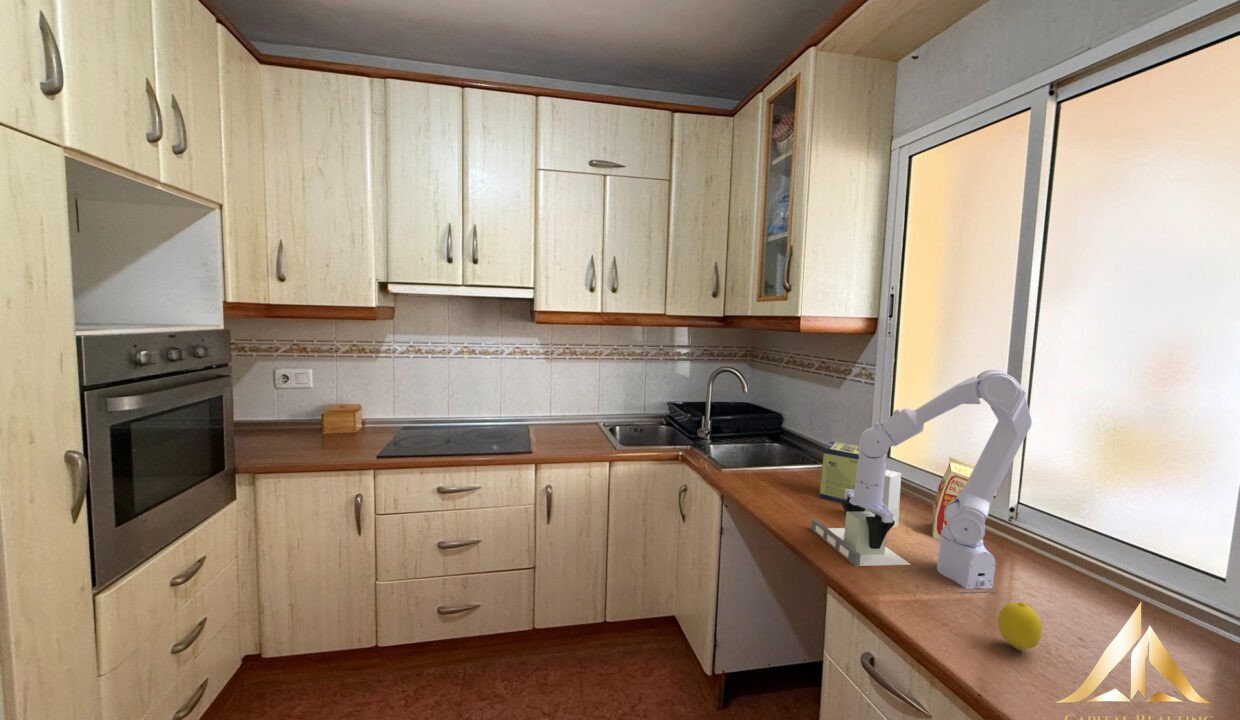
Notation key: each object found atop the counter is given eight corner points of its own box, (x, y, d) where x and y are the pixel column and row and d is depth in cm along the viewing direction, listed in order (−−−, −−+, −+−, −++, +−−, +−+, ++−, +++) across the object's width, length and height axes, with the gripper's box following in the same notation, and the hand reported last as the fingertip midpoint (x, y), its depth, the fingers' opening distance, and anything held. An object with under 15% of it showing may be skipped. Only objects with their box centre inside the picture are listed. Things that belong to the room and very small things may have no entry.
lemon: (1018, 638, 84) (1024, 593, 83) (1047, 661, 79) (1054, 613, 78) (987, 637, 84) (992, 592, 83) (1014, 660, 78) (1020, 612, 78)
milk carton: (933, 537, 123) (942, 459, 121) (929, 524, 131) (938, 451, 129) (977, 547, 119) (987, 466, 117) (971, 533, 127) (980, 457, 125)
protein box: (876, 511, 139) (882, 457, 137) (818, 498, 147) (823, 447, 145) (879, 500, 147) (885, 449, 146) (824, 488, 155) (828, 440, 154)
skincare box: (898, 529, 127) (904, 473, 125) (885, 534, 124) (891, 476, 122) (866, 517, 134) (872, 464, 132) (854, 521, 130) (859, 467, 129)
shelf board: (910, 569, 106) (912, 553, 106) (853, 571, 104) (855, 554, 104) (858, 532, 124) (860, 518, 123) (809, 533, 122) (811, 519, 121)
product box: (884, 554, 110) (888, 519, 109) (855, 555, 109) (858, 520, 108) (870, 543, 115) (873, 510, 114) (842, 544, 114) (845, 510, 113)
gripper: (834, 471, 117) (829, 526, 118) (874, 493, 103) (867, 556, 104) (862, 471, 118) (856, 526, 119) (905, 493, 104) (898, 555, 105)
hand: (863, 540), depth 112 cm, fingers open, 7 cm apart
